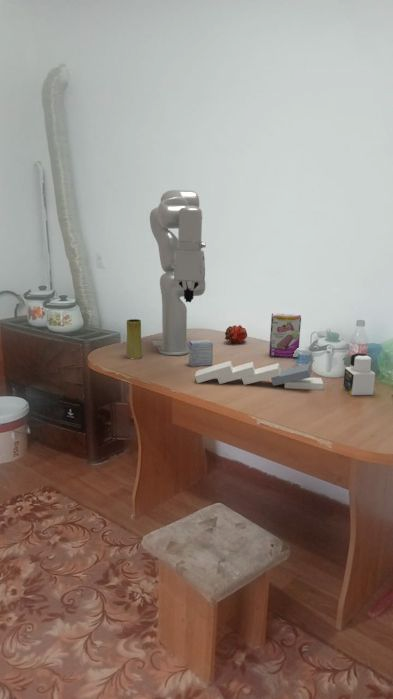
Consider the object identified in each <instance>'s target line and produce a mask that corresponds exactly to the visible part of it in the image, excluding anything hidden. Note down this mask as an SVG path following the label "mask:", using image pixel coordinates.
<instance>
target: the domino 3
mask: <svg viewBox="0 0 393 699" xmlns="http://www.w3.org/2000/svg"><path fill="white" fill-rule="evenodd" d="M280 365H281V364H280V363H279V362H277V363H275V364H274V363H273V364H270V365H265V366H262V367H258V368H255V374H254V375H250V376H247V377H243V378H241V380H242V382H243V385H244V386H245V385H249V384H253V383H257V382H261V381H265V380H269V379H271V378H273V377H277V376H280V373H281V370H282V368H281V366H280Z"/></svg>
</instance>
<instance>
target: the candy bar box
mask: <svg viewBox="0 0 393 699" xmlns="http://www.w3.org/2000/svg"><path fill="white" fill-rule="evenodd" d="M301 326H302V315H301V314H298V313H297V314H296V313H295V314H293V313H292V314H291V313H273V312H272V313H271V322H270V333H269V334H270V335H269V336H270V337H269V352H268V354H269V358H270V357H272V358H273V357H275V358H290V357H293V354H294V351H295V350H296V349H297V348H299V349H300V339H301V337H300V335H301Z"/></svg>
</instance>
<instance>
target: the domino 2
mask: <svg viewBox="0 0 393 699" xmlns="http://www.w3.org/2000/svg"><path fill="white" fill-rule="evenodd" d="M255 369H256V367H255V365H254V362H253V361H251V362H247V363H243V364H240V365H237V366H233V372H232V373H230V374H227V375H224V376H220V377H217V378H216V379H217V381H218V384H219V385H221V384H225V383H229V382H232V381H235V380H239V379H242V378H243V377H247V376H250V375H254V374H255Z"/></svg>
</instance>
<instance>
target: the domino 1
mask: <svg viewBox="0 0 393 699" xmlns="http://www.w3.org/2000/svg"><path fill="white" fill-rule="evenodd" d="M233 367H234V366H233V363H232V361H231V360H228V361H224V362H221V363H218V364H215V365H214V364H213V365H210V366H208V367H205V368H202V369H198V370H196V372H195V374H194V378H195V381H196V383H197V384H200V383H204V382H206V381H210V380H213V379H218V378H217V377H220V376H224V375H227V374H230V373H232V372H233Z"/></svg>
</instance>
